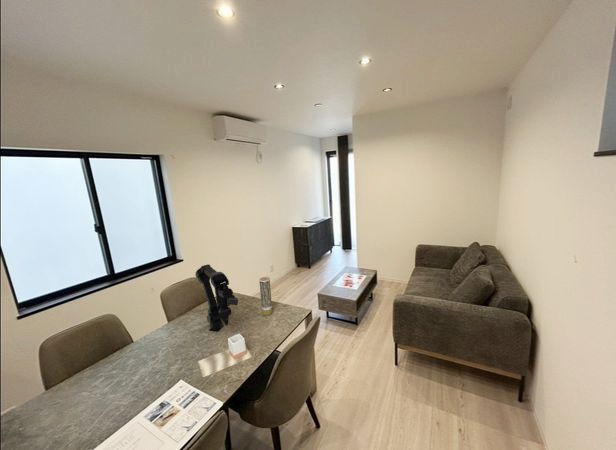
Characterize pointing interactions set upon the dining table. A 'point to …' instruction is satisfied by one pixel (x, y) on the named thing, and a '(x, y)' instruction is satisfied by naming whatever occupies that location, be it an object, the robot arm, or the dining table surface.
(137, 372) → the dining table surface
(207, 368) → the pin board
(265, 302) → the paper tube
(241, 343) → the sleeve
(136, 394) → the dining table surface
